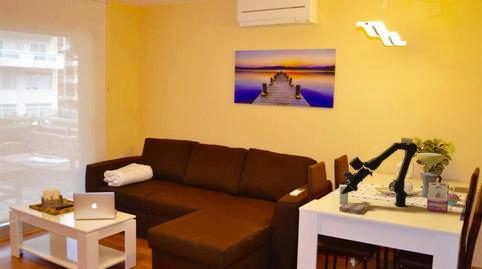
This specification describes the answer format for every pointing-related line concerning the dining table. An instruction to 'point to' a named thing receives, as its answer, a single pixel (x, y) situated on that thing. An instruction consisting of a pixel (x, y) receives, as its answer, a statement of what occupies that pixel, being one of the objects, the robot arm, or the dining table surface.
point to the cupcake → (452, 198)
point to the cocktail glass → (430, 158)
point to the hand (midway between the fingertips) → (341, 192)
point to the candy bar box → (437, 197)
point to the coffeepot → (428, 178)
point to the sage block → (342, 195)
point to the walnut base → (352, 208)
